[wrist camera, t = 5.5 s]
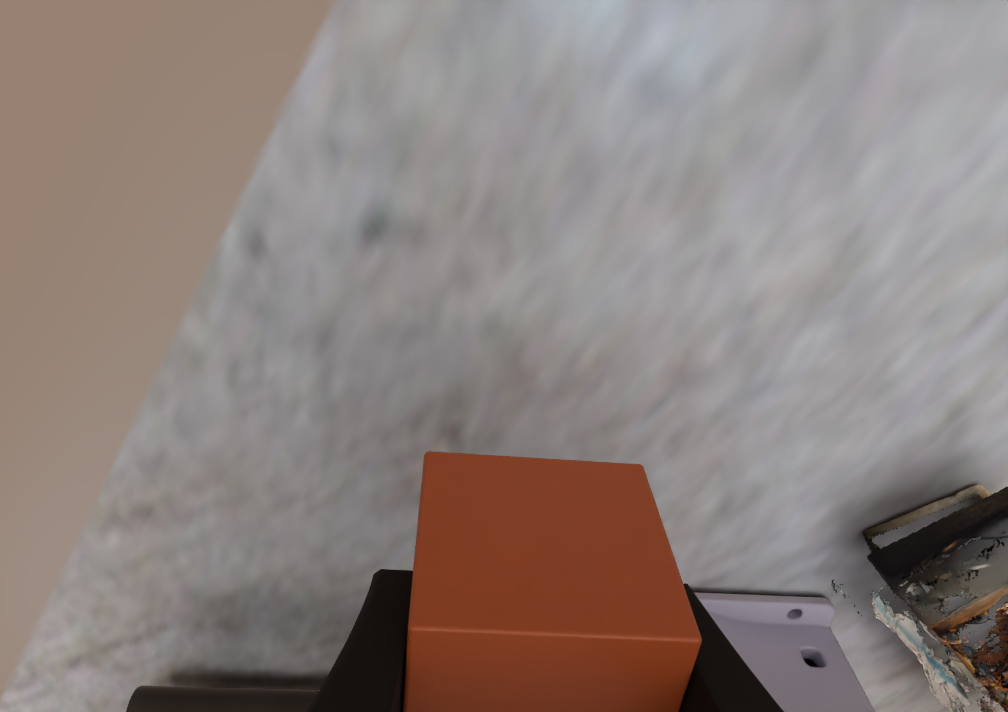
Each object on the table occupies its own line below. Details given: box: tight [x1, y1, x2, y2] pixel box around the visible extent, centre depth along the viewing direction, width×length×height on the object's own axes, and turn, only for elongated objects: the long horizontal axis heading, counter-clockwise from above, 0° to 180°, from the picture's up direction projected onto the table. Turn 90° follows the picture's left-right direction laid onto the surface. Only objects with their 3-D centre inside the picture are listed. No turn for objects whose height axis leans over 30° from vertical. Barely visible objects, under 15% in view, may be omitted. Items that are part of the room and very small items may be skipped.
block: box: [403, 451, 702, 712], centre depth 12 cm, size 4×4×4 cm
